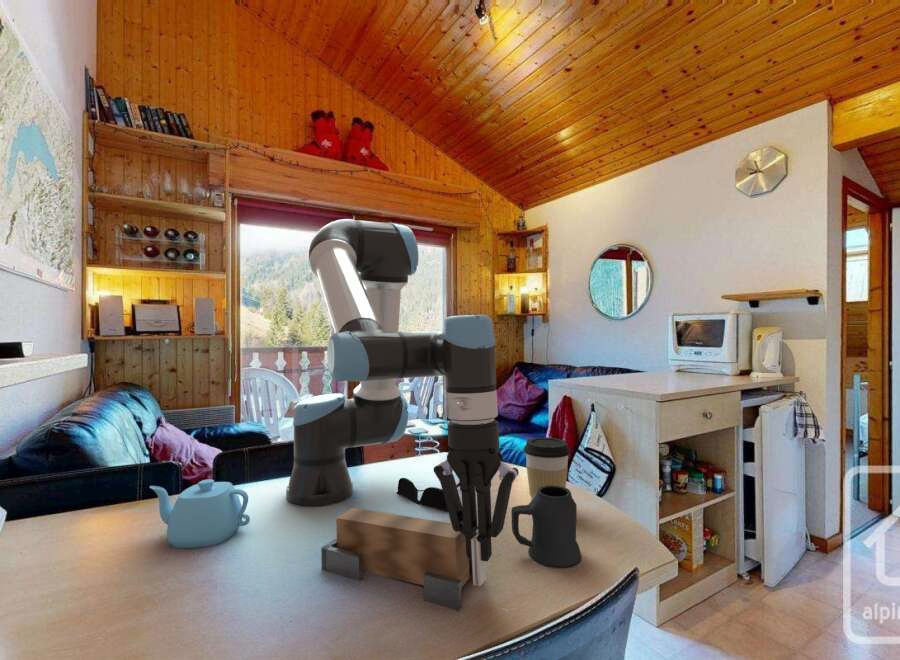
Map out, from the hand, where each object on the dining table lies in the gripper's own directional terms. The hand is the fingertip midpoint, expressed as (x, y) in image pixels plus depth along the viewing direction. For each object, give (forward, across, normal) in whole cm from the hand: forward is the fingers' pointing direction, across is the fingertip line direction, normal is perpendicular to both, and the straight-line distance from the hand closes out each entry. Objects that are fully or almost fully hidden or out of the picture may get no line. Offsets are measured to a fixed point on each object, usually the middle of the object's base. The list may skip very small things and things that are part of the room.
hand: (480, 580), depth 65 cm
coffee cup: (+3, +2, +34) cm, 34 cm away
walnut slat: (+1, -14, +1) cm, 14 cm away
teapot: (-6, -63, -9) cm, 64 cm away
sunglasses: (+2, -23, +33) cm, 40 cm away
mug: (+3, +6, +16) cm, 17 cm away
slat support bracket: (+2, -22, 0) cm, 22 cm away
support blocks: (+2, -4, 0) cm, 5 cm away
